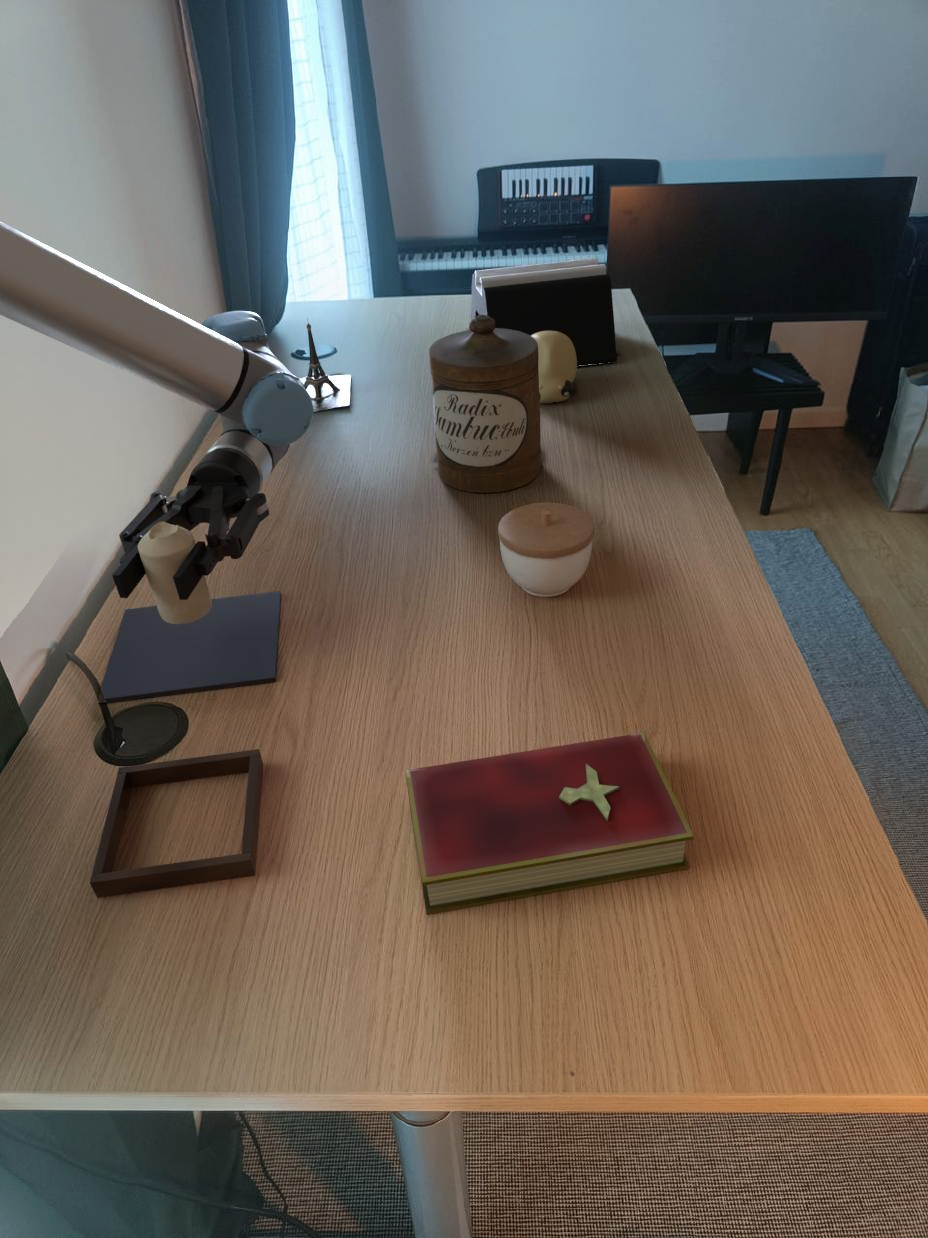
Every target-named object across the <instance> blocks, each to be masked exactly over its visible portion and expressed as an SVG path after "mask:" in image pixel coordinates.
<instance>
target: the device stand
mask: <svg viewBox="0 0 928 1238" xmlns="http://www.w3.org/2000/svg"><path fill="white" fill-rule="evenodd" d="M470 299H471V301H470V321H471V320H472V319H474V318H475V317H476V316H478V315H487V316H489V317H490V318H492V319H494V321H495V328H499V329H510V330H515V331H519V332H523V333H525V334H528V335H530V336H531V335H533V334H535V333H537V332H541V331H557V332H560V333H563V334H565V335H566V336H567V337H568V338H569V339H570V340H571V341H572V343H573V346H574V348H575V352H576V357H577V366H579V365H588V364H599V363H608V362H616V363H617V362H618V353H617V351H618V350H617V341H616V339H617V338H616V329H615V327H616V325H615V316H614V315H615V314H614V303H613V302H614V301H613V290H612V279H611V276H610V274H609V273H607V266H606V264H605V263H602V264H599V258H598V257H591V258H590V257H589V258H581V259H580V258H579V259H570V260H563V261H562V260H561V261H553V262H543V263H534V264H524V265H516V266H505V267H497V268H486V269H478V270H474V273H473V274H472V277H471V298H470Z"/></svg>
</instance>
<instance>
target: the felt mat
mask: <svg viewBox="0 0 928 1238" xmlns="http://www.w3.org/2000/svg"><path fill="white" fill-rule="evenodd" d="M211 601H212V607H211V609H210V611H209V612H208V613H207V614H206V615H205V616H203V617H202V618H200V619H198V620H196V621H193V622H190V623H186V624H171V623H167V622H165V621H164V620H163V619H162V618H161V616H160V614H159V611H158V608H157V605H151V606H142V607H135V608H126V609H125V610H124V612H123V616H122V619H121V622H120V625H119V628H118V631H117V635H116V638H115V641H114V645H113V647H112V651H111V654H110V657H109V661H108V664H107V666H106V670H105V674H104V677H103V679H102V683H101V686H100V689H102V692H103V695H104V698H105V700H106V702H107V703H106V704H112V703H118V702H126V701H134V700H142V699H150V698H158V697H166V696H173V695H174V696H175V695H181V694H182V695H183V694H189V693H196V692H197V693H199V692H206V691H213V690H222V689H229V688H238V687H243V686H244V687H245V686H251V685H261V684H267V683H268V684H269V683H275V682H277V671H278V657H279V656H278V655H279V638H280V636H279V635H280V625H281V624H280V623H281V622H280V621H281V607H282V592H281V591H280V590H278V591H268V592H261V593H252V594H245V595H244V594H243V595H235V596H227V597H219V598H211Z"/></svg>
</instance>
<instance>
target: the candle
mask: <svg viewBox="0 0 928 1238" xmlns="http://www.w3.org/2000/svg"><path fill="white" fill-rule="evenodd" d="M196 543H197V542H196V540H195V537H194V534H193V532H192V531H189V530H187V529H185V528H183V527H180V526H178V525H171V524H168V523H166V522H159V523H157V524H156V525H154V526H153V527H152V528H151V530H150V531H149V532H148V533H147V534H145V535H144V537H143V538H142V539H141V540H140V542H139V544H138V551H139V554H140V557H141V560H142V563H143V566H144V569H145V572H146V574H145V576H146V578H147V581H148V584H149V587H150V590H151V593H152V597H153V600H154V602H155V606H157V608H158V611H159V614H160V616H161V618H162V619H163V620H164V621H165V622H167V623H171V624H186V623H190V622H193V621H196V620H198V619H200V618H202V617H203V616H205V615H206V614H207V613H208V612H209V611H210V609H211V607H212V601H211V599H212V597H211V593H210V588H209V587H208V583H207V578H206V576H202V578H201V579H200V581H199V582H198V584H197V586H196V587H195V589H194V590H193V592H192V593H191V595H190V596H189V598H188V599H187V600H180V599H179V595H178V592H177V589H176V586H175V583H174V579H173V576H174V574H175V573H176V572H177V570H178V569H179V567H180V566H181V564H182V563H183V562H184V560H185V559H186V557H187V556H188V554H189V553H190V552H191V550H192V549H193V547H194V546H195V544H196Z"/></svg>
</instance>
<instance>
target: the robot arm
mask: <svg viewBox="0 0 928 1238" xmlns="http://www.w3.org/2000/svg"><path fill="white" fill-rule="evenodd" d="M0 316H2V317H4V318H7V319H8V320H11V321H13V322H15V323H18V324H20V325H22V326H25V327H26V328H29V329H31V330H33V331H35V332H37V333H39V334H42V335H44V336H46V337H49V338H50V339H53V340H56V341H57V342H60V343H62V344H64V345H67V346H69V347H71V348H73V349H75V350H77V351H80V352H82V353H84V354H86V355H89V356H90V357H93V358H95V359H98V360H100V361H102V362H105V364H106V363H107V364H109V365H110V366H113V367H115V368H117V369H120V370H122V371H124V372H126V373H128V374H131V375H133V376H135V377H137V378H140V379H141V380H144V381H146V382H148V383H151V384H152V385H155V386H157V387H159V388H161V389H163V390H165V391H166V390H167V391H168V392H170V393H173V394H175V395H177V396H179V397H182V398H184V399H186V400H188V401H191V402H192V403H195V404H197V405H200V406H201V407H203V408H206V409H208V410H211V411H213V412H215V413H217V414H218V415H219V419H220V422H221V426H222V427H221V428H222V433H221V434H220V435H219V437H218V438H217V439H216V440H215V442H214V443H213V444H212V445H211V447H210V448H208V449H207V451H206V452H205V454H204V455H203V457H202V458H201V459H200V460H199V461H198V462H197V464H196V465H195V466H194V468H193V469H192V471H190V474H189V477H188V481H187V484H186V486H185V487H183V488H182V489H180V490H179V491H177V493H176V494H175V495H172V496H171V495H170V496H165V495H163V493H162V492H161V491H154V492H152V493H151V494H150V497H149V501H148V503H146V505H145V506H144V507H143V508H142V509H141V510H140V511H139V512H138V513H137V515H136V516H135V517H134V518H133V519H132V520H131V521H130V522H129V523H128V524H127V525H126V526H125V528H124V529H123V530H122V531H121V532H120V533H119V535H118V537H119V539H120V542H121V545H122V548H123V551H124V554H123V555H122V556H121V557H120V559H119V561H120V562H119V563H120V564H119V566H118V567H117V568H116V570H115V571H114V572H113V573H112V575H111V576H112V579H113V582H114V586H115V587H116V590H117V593H118V596H119V598H120V599H128V598H129V597H130V595H131V594H133V592H134V590H135V589H136V587H137V586H138V585H139V584H140V582H141V581H142V580H143V578H144V577H145V576H146V572H145V569H144V566H143V563H142V560H141V557H140V554H139V551H138V544H139V542H140V540H141V539H142V538H143V537H144V535H145V534H147V533H148V532H149V531H150V530H151V528H152V527H153V526H154V525H156V524H157V523H159V522H166V523H168V524H171V525H178V526H180V527H183V528H185V529H187V530H189V531H190V532H192V531H193V530H194V529H195V528H196V527H198V526H199V525H200V524H208V530H207V533H204V536H205V539H206V541H204V540H203V541H202V540H199V541H196V542H195V543H196V544H195V546H194V547H193V549H192V550H191V552H190V553H189V554H188V556H187V557H186V559H185V560H184V562H183V563H182V564H181V566H180V567H179V569H178V570H177V572H176V573H175V574H174V576H173V579H174V583H175V586H176V589H177V592H178V595H179V599H180V600H187V599H188V598H189V596H190V595H191V593H192V592H193V590H194V589H195V587H196V586H197V584H198V582H199V581H200V579H201V578H202V576H205V577H206V576H209V575H210V574H211V573H212V572H213V570H214V569H215V567H216V565H217V564H218V563H219V562H222V561H223V560H224V559H225V557H230V559H232V560H239V559H241V558H242V557H243V555H244V553H245V551H246V549H247V548H248V545H249V544H250V542H251V540H252V538H253V536H254V535H255V532H256V531H257V529H258V527H259V525H260V523H262V522H263V521H264V520H265V519H266V518H267V517H269V516H270V510H269V505H268V500H267V495H266V494H265V493H264V492H261V490H262V488H263V487H264V486H265V483H266V482H267V480H268V479H269V477H270V476H271V474H272V473H273V472H274V471H273V470H275V468H276V466H277V465H278V463H279V462H280V461H281V460H282V459H283V457H284V456H285V455H286V454H287V453H288V451H289V448H290V445H291V444H292V443H294V442H296V441H298V440H299V439H300V438H302V437H303V436H304V435H305V433H306V432H307V431H308V429H309V428H310V426H311V424H312V420H313V416H314V412H313V404H312V400H311V398H310V395H309V394H308V392H307V391H306V389H305V387H304V385H303V383H302V382H301V381H300V380H299V378H300V377H297V376H296V375H294V374H293V373H292V372H291V371H290V370H289V369H288V368H287V367H286V366H285V365H284V364H283V363H282V362H281V360H279V359H278V358H277V356H276V355H274V353H273V352H272V351H271V350H270V347H269V335H268V334H267V331H266V328H265V325H264V321H263V318H262V317H261V316H260V315H259V314H257V313H256V312H253V311H247V310H232V311H225V312H221V313H220V312H219V313H217V314H214V315H212V316H209V317H208V318H206V319H204V321H203V322H201V324H200V323H198V322H196V321H194V320H193V319H190V318H188V317H186V316H184V315H182V314H180V313H179V312H176V311H175V310H173V309H170V308H169V307H167V306H165V305H163V304H161V303H160V302H157V301H155V300H153V299H151V298H150V297H148V296H145V295H143V294H142V293H140V292H138V291H136V290H134V289H132V288H130V287H128V286H126V285H124V284H122V283H120V282H119V281H117V280H115V279H114V278H111V277H109V276H107V275H105V274H103V273H101V272H100V271H97V270H96V269H94V268H91V267H90V266H88V265H86V264H84V263H82V262H80V261H78V260H76V259H75V258H73V257H70V256H69V255H66V254H64V253H62V252H60V251H59V250H57V249H55V248H53V247H52V246H49V245H47V244H45V243H43V242H41V241H40V240H38V239H35V238H34V237H32V236H30V235H28V234H26V233H24V232H22V231H21V230H18V229H16V228H15V227H13V226H11V225H9V224H7V223H4V222H2V221H0ZM232 519H235V520H234V521H233V522H232V525H231V524H230V523H231V520H232ZM230 525H231V526H230ZM206 542H207V544H206Z"/></svg>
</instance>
